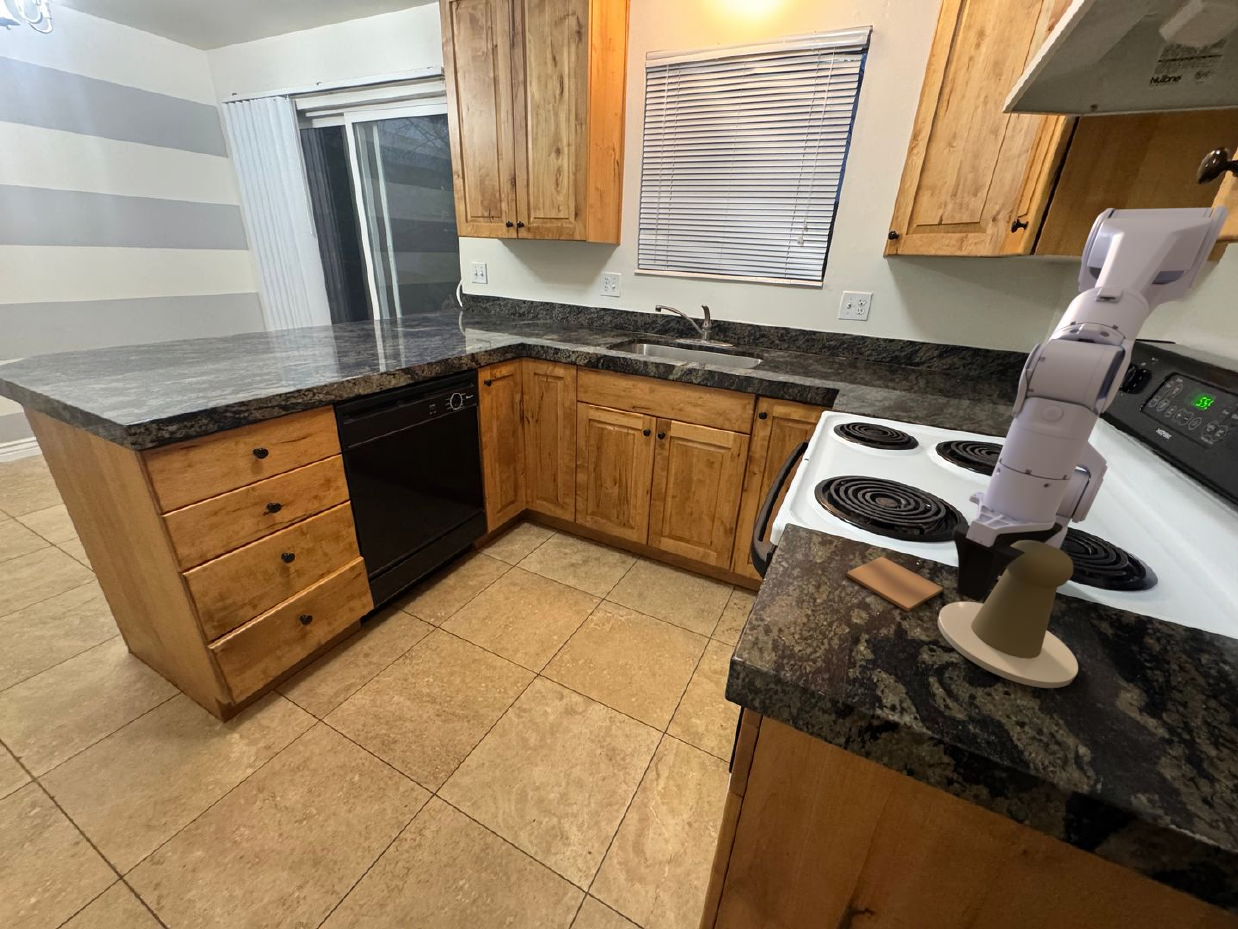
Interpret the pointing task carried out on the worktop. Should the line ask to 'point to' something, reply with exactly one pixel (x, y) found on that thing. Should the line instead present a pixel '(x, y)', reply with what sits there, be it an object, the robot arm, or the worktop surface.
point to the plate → (1041, 671)
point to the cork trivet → (894, 583)
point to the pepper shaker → (1023, 600)
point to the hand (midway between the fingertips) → (986, 585)
